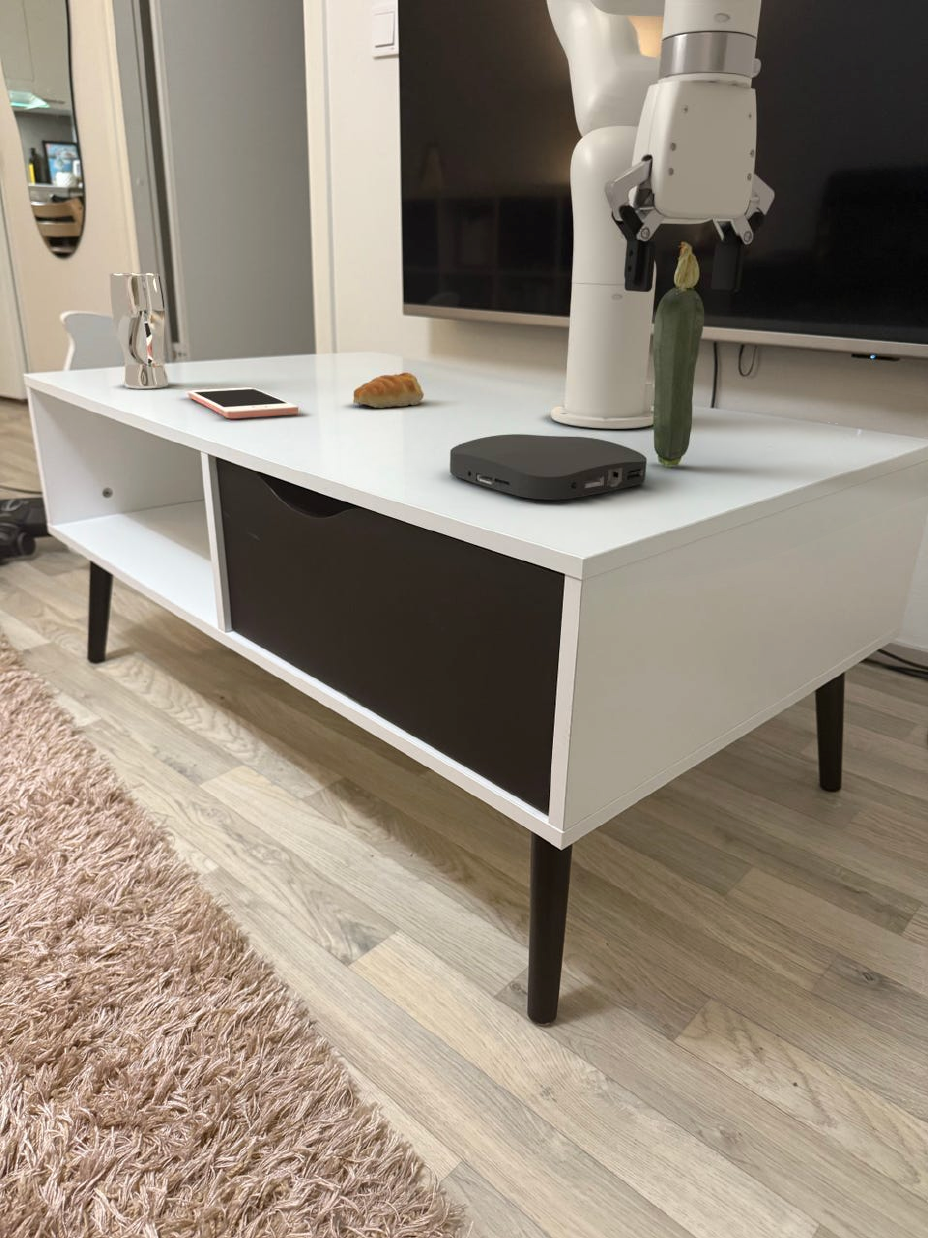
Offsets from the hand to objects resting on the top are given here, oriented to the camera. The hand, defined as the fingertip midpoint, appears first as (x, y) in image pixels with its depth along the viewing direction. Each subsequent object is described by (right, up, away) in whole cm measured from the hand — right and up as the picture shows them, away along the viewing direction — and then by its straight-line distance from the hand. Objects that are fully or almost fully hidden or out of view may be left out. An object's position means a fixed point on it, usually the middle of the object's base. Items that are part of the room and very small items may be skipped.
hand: (682, 290), depth 80 cm
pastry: (-29, -1, +38) cm, 48 cm away
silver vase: (-65, +4, +49) cm, 81 cm away
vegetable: (0, -15, +6) cm, 16 cm away
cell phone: (-48, -2, +34) cm, 58 cm away
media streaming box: (-12, -17, +1) cm, 21 cm away
